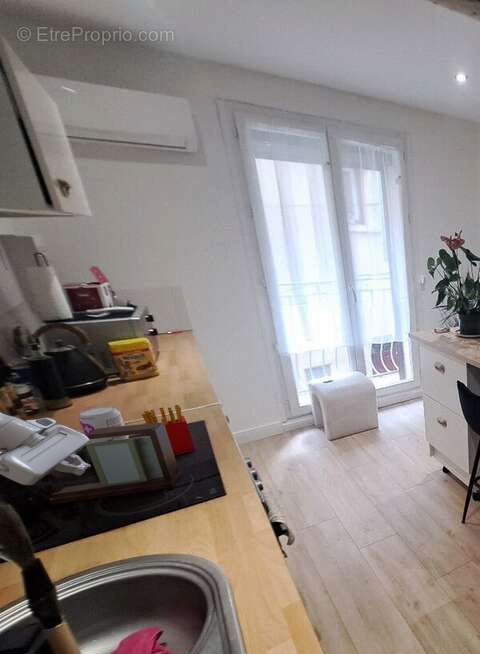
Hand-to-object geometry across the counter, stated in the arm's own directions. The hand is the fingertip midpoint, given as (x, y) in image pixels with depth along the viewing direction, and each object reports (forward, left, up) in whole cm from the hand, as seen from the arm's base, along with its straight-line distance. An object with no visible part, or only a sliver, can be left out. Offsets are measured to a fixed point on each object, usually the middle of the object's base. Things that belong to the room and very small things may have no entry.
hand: (86, 470), depth 102 cm
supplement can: (+11, +20, -7) cm, 24 cm away
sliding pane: (+5, -5, -5) cm, 8 cm away
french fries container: (+21, +9, -7) cm, 24 cm away
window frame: (+4, -3, -7) cm, 8 cm away
